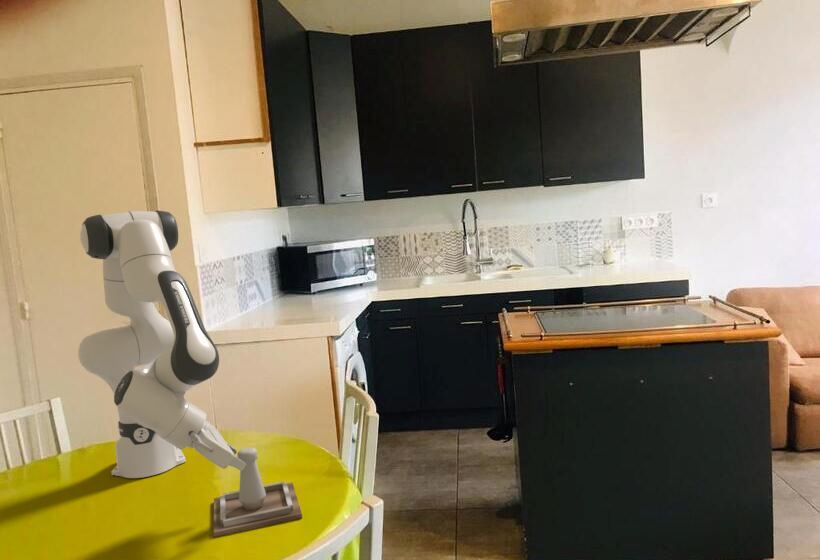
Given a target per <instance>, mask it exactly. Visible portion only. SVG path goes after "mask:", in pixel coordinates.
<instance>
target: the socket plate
mask: <svg viewBox="0 0 820 560" xmlns="http://www.w3.org/2000/svg"><path fill="white" fill-rule="evenodd" d="M263 486H264V489H265V492H266V497H265V500H264V502H263V505H262V507H261V508H258V509H256V510H246V509H245V508H244V506H243V505H242V504H241V502H240V500H239V490H235V491H231V492H224V493H222V495H220V496H218V497H214V498H213V537H214V538H216V537H217V538H218V537H220V536H226V535H231V534H236V533H240V532H239V531H241V532H245V531H250V530H254V529H258V528H259V529H260V528H263V527H267V526H268V527H269V526H272V525H277V524H282V523H286V522H290V521H296V520H301V519H303V513H302V511H301V506H300V502H299V500H298V497H297V494H296V489H295V487H294V483H293V481H292V482H285V481H281V482H280V481H279V482H274V483H270V484H263ZM253 528H254V529H253ZM249 529H250V530H249ZM244 530H245V531H244ZM235 532H236V533H235Z"/></svg>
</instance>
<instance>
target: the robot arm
mask: <svg viewBox="0 0 820 560" xmlns="http://www.w3.org/2000/svg"><path fill="white" fill-rule="evenodd" d="M81 225H82V226H81V229H80V233H79V234H80V237H79V238H80V242H81V245H82V247H83V249H84V250H85V253H86V254H87V256H89V257H90V258H92V259H97V260H102V277H103V289H104V290H103V291H104V301H105V304H106V307H107V309H109V310H110V311H111V312H112V313H114V314H117V315H120V316H124V317H127V318H129V320H130V324H129V325H126V326H121V327H116V328H109V329H104V330H100V331H98V332H97V331H96V332H95V333H92V334H89V335H87V336H85V337H84V338H83V339H82V341H80V344H79V346H78V351H77V352H78V354H77V355H78V360H79V362H80V364H81V366H82V367H83V369H85V370H86V371H87V372H88V373H90V374H92V375H95V376H97V377H99V378H101V379H102V380H103V381H104V382H105V383H106V384H107V385H108V386H109V388H110V390H111V391H112V393H113V402H114V404H115V406H116V407H117V408H116V409H117V413H118V419H119V421H118V423H117V424H118V426H117V427H118V428H117V429H118V431H119V436H120V437H119V439H118V440H117V441H116V443H115V446H114V448H115V456H116V466H115V467H113V469H112V470H111V471H110V472H111V476H113V475H115V477H121V478H126V479H141V478H142V479H143V478H146V477H147V478H148V477H151V476H155V475H158V474H162V473H165V472H167V471H169V470H171V469H173V468H174V467H176V466H179V465H181V464H183V463H185V462H187V460H186V457H185V455H184V453H183V451H182V450H184V449H186V448H187V447H188V448H189V449H194V450H195V451H196V452H197V453H199V455H201V456H202V457H204V458H205V459H207V460H209V461H210V462H212V464H214V465H215V466H217V467H218V468H220V469H223V470H224V469H227V468H228V466H230V467H231V468H232V467H233V468H235V469H236V470H238V471H239V472H240V471H242V470H243V469H244V468H245V466H246V463H245V462H244V461H243V460H241V459H240V458H238V457H237V455H236V454H237V453H238V452H237V450H236V448H235V447H233V446H232V445H230V443H228V442H227V441H226V440H225V438H224V437H223V436H222V434H221V433H220V431H219V430H218V429H217V428H216V427H215V426H214V425H213V424H212V423H211V422H210V421H208V420H207V413H206V412H205V411H204V410H202V409H200V408H199V407H197V406H196V405H194V404H192V403H191V402H189V401H188V400H187V399H185V394H186V392H188V391H189V390H191V389H193V388H194V387H196V386H197V385H199V384H202V383H203V382H206V381H207V380H209V379H211V378H212V377H213V376H214V375H215V374H216V373H217V371H218V368H219V365H220V356H219V355H220V354H219V351H218V348H217V346H216V345H215V342H213V341H214V340H212V338H211V337H210V335H209V334H208V331H207V330H206V328H205V326H204V323H203V321H202V318H201V316H200V313H199V311H198V307H197V305H196V303H195V300H194V297H193V295H192V292H191V290H190V287H189V285H188V283H187V281H186V280H185V277H183V275H181V274H180V273H179V272H178V271H177V270H176V268H175V266H174V265H175V264H174V261H173V257H172V254H171V251H172V250H174V249H175V248H176V247H177V246H178V243H179V237H180V230H179V229H180V228H179V226H178V223H177V220H176V218H175V216H174V215H173V214H172V213H171V212H169V211H164V210H154V211H153V210H152V211H151V210H150V211H149V210H148V211H147V210H129V211H125V212H115V213H109V214H103V215H102V214H96V215H95V214H94V215H92V216H88V217H86V218H85V220H84V221H83V222H82V224H81ZM154 303H161V304H162V305H163V308H164V310H165V313H166V316H167V318H168V319H166V318H164V316H162V314H161V313H160V312H159V311H158V309H157V308H156V306H155V304H154ZM137 367H140V368H137ZM135 368H137V369H135Z"/></svg>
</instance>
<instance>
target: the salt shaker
mask: <svg viewBox="0 0 820 560" xmlns="http://www.w3.org/2000/svg"><path fill="white" fill-rule="evenodd" d="M236 454H237V455H236V457H237V458H240V459H241V460H243V461H244V462H245V463H246V466H245V468H244V469H243V470H242V471H240V470H239V472H240V473H239V490H238V491H239V500H240V502H241V504H242V505H243V506H244V508H245V509H246V510H256V509H258V508H261V507H262V505H263V502H264V500H265V497H266V492H265V489H264V483H263V479H262V477H261V474H260V470H259V467H258V463H257V459H258V456H259V455H258V450H257V449H256V448H254V447H250V446H249V447H245V448H242V449H239V451H238V452H237V453H236Z"/></svg>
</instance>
